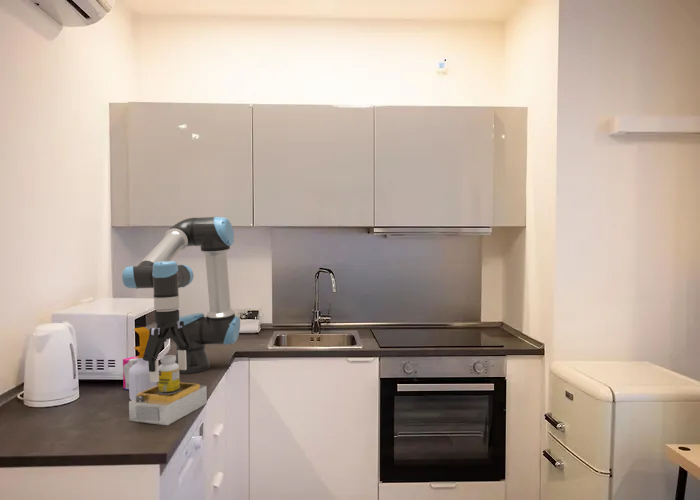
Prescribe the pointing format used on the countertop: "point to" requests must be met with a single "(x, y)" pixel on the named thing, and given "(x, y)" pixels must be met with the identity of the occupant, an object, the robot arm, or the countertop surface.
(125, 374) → the supplement box
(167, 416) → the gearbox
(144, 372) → the spray bottle
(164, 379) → the pill bottle
